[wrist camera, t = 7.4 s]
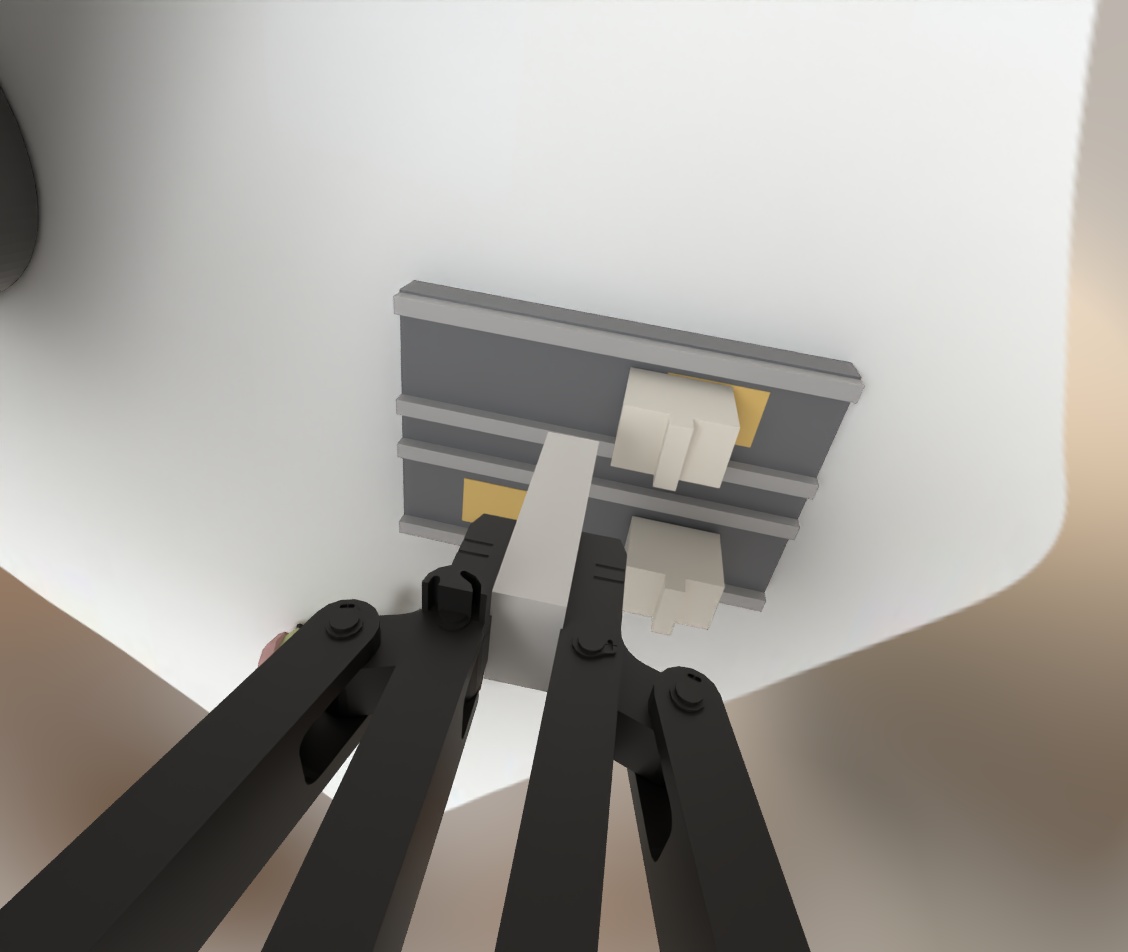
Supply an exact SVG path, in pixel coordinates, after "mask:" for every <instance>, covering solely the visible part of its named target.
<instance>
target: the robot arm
mask: <svg viewBox="0 0 1128 952" xmlns="http://www.w3.org/2000/svg"><path fill="white" fill-rule="evenodd" d="M37 228H38V205H37V195H36V188H35V182H34V177H33V173H32V168H31V164H30V160H29V157H28V154H27V150H26V147H25V144H24V141H23V139H22V136H21V133H20V130H19V128H18V125H17V123H16V120H15V118H14V116H13V113H12V111H11V109H10V107H9V105H8V102H7V100H6V98H5V96H4V94H3V92H2V90H1V88H0V292H1V291H3V290H5V289H6V288H8V287H9V286H11V285H12V284H13V283H14V282H15V281H16V280H17V279H18V278H19V277H20V276H21V275H22V273H23V272H24V270H25V269H26V267H27V265H28V263H29V261H30V259H31V256H32V253H33V250H34V246H35V242H36V236H37ZM598 445H599V441H594V440H589V439H584V438H579V437H573V436H568V435H563V434H558V433H553V432H548V434H547V437H546V440H545V443H544V446H543V448H542V451H541V454H540V457H539V460H538V463H537V465H536V468H535V471H534V474H533V477H532V480H531V482H530V485H529V488H528V491H527V494H526V496H525V499H524V502H523V505H522V508H521V511H520V513H519V516H518V519H517V520H515V519H510V518H505V517H500V516H495V515H490V514H485V513H484V514H482V515H481V516H480V517H479V518H477V519H476V520H475V521H474V522H472V523H471V524H470V526H469V528H468V530H467V533H466V535H465V537H464V540H463V541H462V543H461V546H460V548H459V551H458V552H457V554H456V556H455V559H454V561H453V563H452V565H449V566H445V567H440V568H438V569H436V570H434V571H432V572H430V573H429V574H428V575H427V576H426V577H425V579H424V580H423V581H422V609H420V610H418V611H415V612H412V613H407V614H400V615H384V616H379V615H378V613H377V611H376V609H375V608H374V607H373V606H371V605H370V604H368V603H367V602H364V601H359V600H355V599H352V600H340V601H337V602H334V603H331V604H328V605H327V606H325V607H324V608H322V609H321V610H319V611H318V612H317V613H316V614H315V615H314V616H312V617H311V618H310V619H309V620H308V621H307V622H306V623H305V624H304V625H303V626H302V627H301V628H300V629H299V630H298V631H296V632H295V633H294V634H293V635H292V636H291V637H290V638H289V639H288V640H287V641H286V642H285V643H284V644H283V645H282V646H280V647H279V648H278V649H277V650H276V651H275V652H274V653H273V654H272V655H271V656H270V657H269V658H268V659H267V660H266V661H264V662H263V663H262V664H261V665H260V666H259V667H258V668H257V669H256V670H255V671H254V672H253V673H252V674H251V675H250V676H249V677H247V678H246V679H245V680H244V681H243V682H242V683H241V684H240V685H239V686H238V687H237V688H236V689H235V690H234V691H233V692H231V693H230V694H229V695H228V696H227V697H226V698H225V699H224V700H223V701H222V702H221V703H220V704H219V705H218V706H217V707H215V708H214V709H213V710H212V711H211V712H210V713H209V714H208V715H207V716H206V717H205V718H204V719H203V720H202V721H201V722H199V723H198V724H197V726H195V727H194V728H193V729H192V730H191V731H190V732H189V733H188V734H187V735H186V736H185V737H184V738H182V739H181V740H180V741H179V742H178V743H177V744H176V745H175V746H174V747H173V748H172V749H171V750H170V751H169V752H168V753H166V754H165V755H164V756H163V757H162V758H161V759H160V760H159V761H158V762H157V763H156V764H155V765H154V766H153V767H152V768H151V769H149V770H148V771H147V772H146V773H145V774H144V775H143V776H142V777H141V778H140V779H139V780H138V781H137V782H136V783H134V784H133V785H132V786H131V787H130V788H129V789H128V790H127V791H126V792H125V793H124V794H123V795H122V796H121V797H120V798H119V799H118V800H116V801H115V802H114V803H113V804H112V805H111V806H110V807H109V808H108V809H107V810H106V811H105V812H104V813H103V814H101V815H100V816H99V817H98V818H97V819H96V820H95V821H94V822H93V823H92V824H91V825H90V826H89V827H88V828H87V829H86V830H84V831H83V832H82V833H81V834H80V835H79V836H78V837H77V838H76V839H75V840H74V841H73V842H72V843H71V844H70V845H68V846H67V847H66V848H65V849H64V850H63V851H62V852H61V853H60V854H59V855H58V856H57V857H56V858H55V859H54V860H52V861H51V862H50V863H49V864H48V865H47V866H46V867H45V868H44V869H43V870H42V871H41V872H40V873H39V874H38V875H36V877H34V878H33V879H32V880H31V881H30V882H29V883H28V884H27V885H26V886H25V887H24V888H23V889H22V890H21V891H19V892H18V893H17V894H16V895H15V896H14V897H13V898H12V899H11V900H10V901H9V902H8V903H7V904H6V905H5V906H3V907H2V908H1V909H0V952H198V951H199V950H200V948H201V947H202V946H203V944H204V943H205V942H206V941H207V939H208V938H209V937H210V935H211V934H212V933H213V931H214V930H215V929H216V928H217V926H218V925H219V924H220V922H221V921H222V920H223V919H224V917H225V916H226V915H227V913H228V912H229V911H230V909H231V908H232V907H233V906H234V904H235V903H236V902H237V900H238V899H239V898H240V897H241V895H242V894H243V893H244V891H245V890H246V889H247V887H248V886H249V885H250V884H251V882H252V881H253V880H254V878H255V877H256V876H257V874H258V873H259V872H260V871H261V869H262V868H263V866H265V864H266V863H267V862H268V860H269V859H270V858H271V856H272V855H273V854H274V852H275V851H276V850H277V849H278V847H279V846H280V845H281V843H282V842H283V841H284V840H285V838H286V837H287V836H288V834H289V833H290V832H291V831H292V829H293V828H294V827H295V825H296V824H297V823H298V821H299V820H300V819H301V818H302V816H303V815H304V814H305V812H306V811H307V810H308V808H309V807H310V806H311V805H312V803H313V802H314V801H315V799H316V798H317V797H318V795H319V794H320V793H321V792H322V790H323V789H324V788H325V786H326V785H327V784H328V783H329V781H330V780H331V779H332V777H333V776H334V775H335V774H336V772H337V771H338V770H339V768H340V767H341V766H342V764H343V763H344V762H345V761H346V759H347V758H348V757H349V755H350V754H351V753H352V752H353V750H354V749H355V748H356V746H357V745H358V744H359V745H358V747H357V749H356V751H355V754H354V756H353V758H352V760H351V762H350V764H349V766H348V768H347V770H346V773H345V775H344V777H343V779H342V781H341V783H340V785H339V787H338V790H337V792H336V794H335V796H334V798H333V800H332V802H331V804H330V807H329V809H328V811H327V813H326V815H325V817H324V819H323V821H322V824H321V826H320V828H319V830H318V832H317V834H316V836H315V838H314V840H313V843H312V845H311V847H310V849H309V851H308V853H307V855H306V857H305V859H304V862H303V864H302V866H301V868H300V870H299V872H298V874H297V876H296V879H295V881H294V883H293V885H292V887H291V889H290V891H289V893H288V895H287V898H286V900H285V902H284V904H283V906H282V908H281V910H280V912H279V915H278V917H277V919H276V921H275V923H274V925H273V927H272V929H271V932H270V934H269V936H268V938H267V940H266V942H265V944H264V947H263V949H262V951H261V952H401V950H402V947H403V943H404V940H405V937H406V934H407V930H408V927H409V924H410V920H411V917H412V914H413V911H414V908H415V904H416V901H417V898H418V895H419V891H420V888H421V885H422V882H423V878H424V875H425V872H426V869H427V865H428V862H429V859H430V856H431V853H432V849H433V846H434V843H435V839H436V836H437V833H438V830H439V826H440V823H441V820H442V816H443V814H444V810H445V807H446V804H447V801H448V797H449V794H450V791H451V788H452V784H453V781H454V778H455V775H456V771H457V768H458V765H459V762H460V758H461V755H462V752H463V749H464V746H465V742H466V739H467V736H468V733H469V729H470V726H471V723H472V720H473V716H474V713H475V710H476V707H477V703H478V697H479V686H480V683H481V680H482V677H483V674H484V671H485V675H484V678H485V679H489V680H494V681H499V682H503V683H508V684H513V685H517V686H522V687H527V688H531V689H536V690H541V691H545V692H547V696H546V701H545V706H544V711H543V716H542V721H541V726H540V731H539V736H538V741H537V746H536V751H535V755H534V760H533V765H532V770H531V775H530V780H529V785H528V790H527V795H526V800H525V805H524V810H523V815H522V820H521V825H520V829H519V834H518V839H517V844H516V849H515V854H514V859H513V864H512V869H511V874H510V879H509V883H508V888H507V893H506V898H505V903H504V908H503V913H502V918H501V923H500V928H499V932H498V938H497V943H496V947H495V952H597V951H598V939H599V926H600V914H601V903H602V891H603V878H604V867H605V855H606V843H607V830H608V818H609V806H610V805H609V804H610V793H611V782H612V770H613V760H615V761H616V762H618V763H620V764H622V765H623V766H625V767H627V771H628V777H629V782H630V788H631V793H632V799H633V804H634V810H635V815H636V821H637V826H638V832H639V837H640V843H641V849H642V854H643V860H644V866H645V871H646V876H647V882H648V888H649V893H650V899H651V904H652V909H653V916H654V921H655V927H656V932H657V938H658V943H659V949H660V952H810V949H809V946H808V943H807V940H806V938H805V935H804V932H803V929H802V926H801V923H800V920H799V917H798V915H797V912H796V909H795V906H794V904H793V900H792V897H791V894H790V892H789V889H788V886H787V883H786V880H785V877H784V875H783V872H782V869H781V866H780V863H779V860H778V857H777V855H776V852H775V849H774V846H773V843H772V840H771V838H770V835H769V832H768V829H767V826H766V823H765V820H764V818H763V815H762V812H761V810H760V806H759V803H758V800H757V798H756V795H755V792H754V789H753V786H752V783H751V781H750V778H749V775H748V772H747V769H746V767H745V764H744V761H743V758H742V755H741V752H740V750H739V746H738V744H737V741H736V738H735V735H734V732H733V729H732V727H731V724H730V721H729V718H728V715H727V712H726V709H725V707H724V704H723V701H722V698H721V695H720V693H719V692H718V690H717V688H716V686H715V685H714V683H713V682H711V681H710V680H709V679H708V678H707V677H706V676H705V675H704V674H702V673H700V672H698V671H696V670H694V669H692V668H686V667H680V666H678V667H672V668H667V669H666V670H664V671H663V672H659V671H657V670H655V669H653V668H651V667H649V666H647V665H645V664H644V663H642V662H641V661H639V660H637V659H636V658H635V657H634V656H633V655H632V654H631V653H630V652H629V651H628V649H627V648H626V646H625V645H624V642H623V640H622V637H621V621H622V610H623V598H624V586H625V585H624V584H625V575H626V563H627V553H626V551H625V548H624V546H623V544H622V542H621V540H620V539H617V538H612V537H607V536H602V535H597V534H592V533H587V532H582V527H583V522H584V517H585V511H586V506H587V501H588V496H589V491H590V486H591V481H592V476H593V471H594V465H595V460H596V455H597V450H598ZM359 742H360V743H359Z"/></svg>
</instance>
